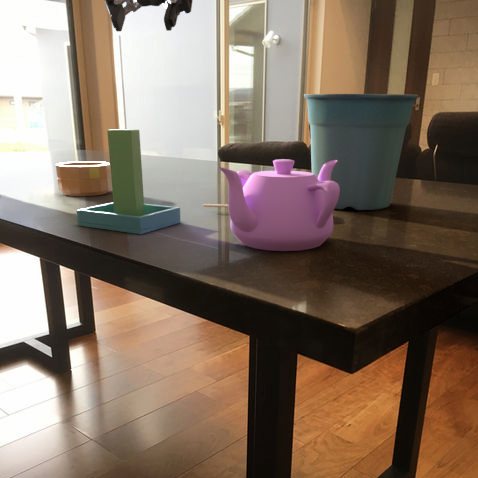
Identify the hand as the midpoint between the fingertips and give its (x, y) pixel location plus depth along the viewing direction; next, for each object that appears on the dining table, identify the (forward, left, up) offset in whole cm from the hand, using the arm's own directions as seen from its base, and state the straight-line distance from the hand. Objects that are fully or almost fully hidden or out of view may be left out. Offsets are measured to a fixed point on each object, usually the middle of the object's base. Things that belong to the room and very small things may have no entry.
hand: (141, 26), depth 84 cm
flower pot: (+35, +6, -27) cm, 44 cm away
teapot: (+36, -22, -27) cm, 50 cm away
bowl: (-10, -6, -26) cm, 29 cm away
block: (+15, -24, -26) cm, 38 cm away
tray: (+15, -24, -26) cm, 39 cm away
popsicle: (+25, -8, -27) cm, 38 cm away
